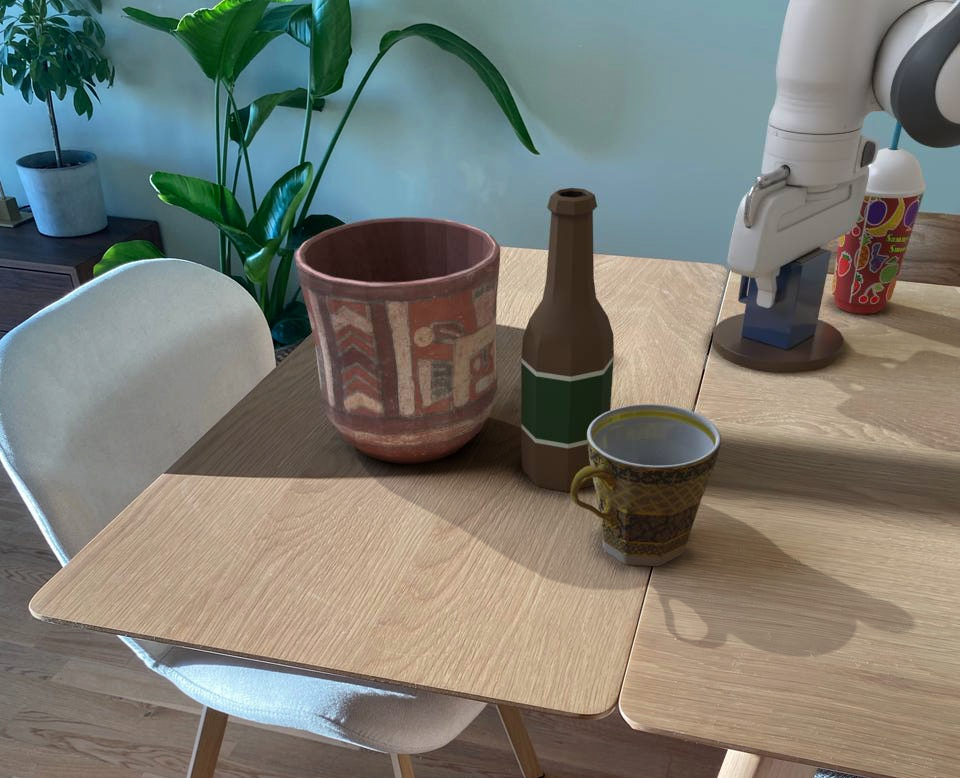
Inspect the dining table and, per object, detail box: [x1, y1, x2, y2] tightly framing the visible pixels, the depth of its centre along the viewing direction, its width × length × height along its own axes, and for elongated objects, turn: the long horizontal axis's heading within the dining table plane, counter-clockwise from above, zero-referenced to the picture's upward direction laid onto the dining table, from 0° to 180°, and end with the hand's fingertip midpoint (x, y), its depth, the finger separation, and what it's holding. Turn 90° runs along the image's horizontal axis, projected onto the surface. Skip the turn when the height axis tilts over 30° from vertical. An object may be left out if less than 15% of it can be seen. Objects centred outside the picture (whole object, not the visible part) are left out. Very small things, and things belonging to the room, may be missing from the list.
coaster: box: [712, 312, 845, 374], centre depth 108 cm, size 14×14×1 cm
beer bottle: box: [520, 187, 615, 493], centre depth 81 cm, size 8×8×24 cm
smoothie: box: [831, 120, 927, 315], centre depth 110 cm, size 8×8×20 cm
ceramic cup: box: [570, 403, 722, 567], centre depth 76 cm, size 13×10×10 cm
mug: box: [737, 248, 832, 350], centre depth 106 cm, size 8×6×9 cm
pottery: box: [294, 216, 501, 465], centre depth 89 cm, size 18×18×18 cm
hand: (785, 295), depth 105 cm, fingers closed on mug, 6 cm apart
